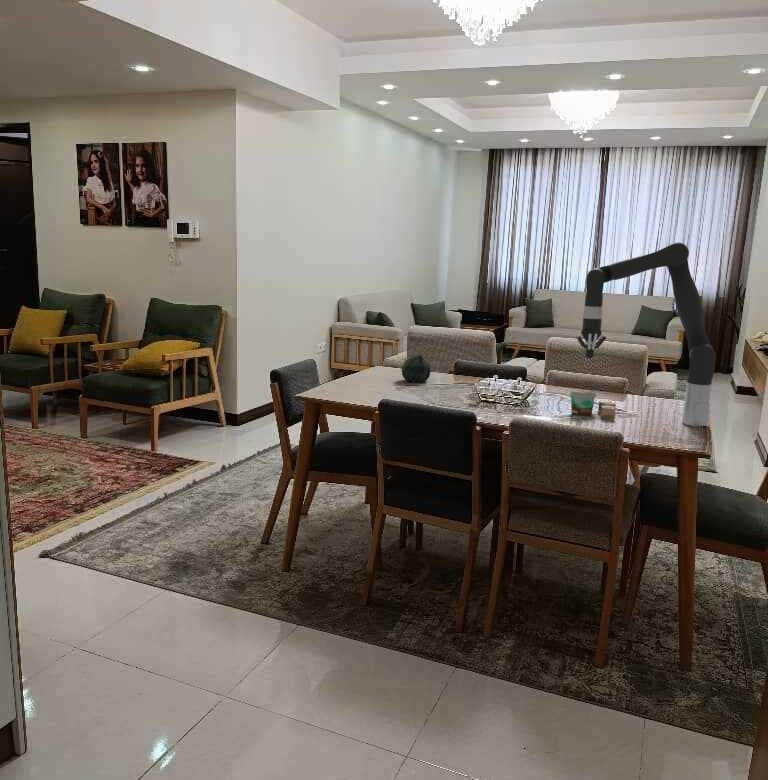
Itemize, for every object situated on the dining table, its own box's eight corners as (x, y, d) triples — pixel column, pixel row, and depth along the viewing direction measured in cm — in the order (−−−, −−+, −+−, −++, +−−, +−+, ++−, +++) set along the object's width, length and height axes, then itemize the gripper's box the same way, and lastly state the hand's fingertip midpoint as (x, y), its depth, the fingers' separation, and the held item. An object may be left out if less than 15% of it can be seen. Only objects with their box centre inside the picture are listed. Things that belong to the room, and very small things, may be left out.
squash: (399, 367, 375) (403, 349, 363) (427, 368, 377) (432, 350, 365) (401, 389, 366) (405, 371, 354) (429, 390, 368) (434, 372, 356)
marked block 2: (614, 420, 294) (615, 408, 293) (601, 419, 295) (602, 407, 294) (612, 417, 299) (613, 405, 298) (600, 416, 300) (601, 404, 299)
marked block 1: (614, 415, 303) (615, 403, 302) (604, 415, 302) (605, 403, 301) (608, 412, 308) (609, 400, 307) (598, 412, 307) (599, 401, 306)
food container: (577, 417, 298) (579, 394, 296) (568, 413, 303) (570, 391, 301) (601, 415, 303) (603, 392, 301) (591, 411, 308) (593, 389, 306)
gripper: (580, 317, 290) (577, 359, 294) (611, 318, 291) (608, 359, 295) (573, 316, 297) (570, 356, 301) (604, 316, 299) (600, 356, 302)
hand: (589, 358), depth 298 cm, fingers closed
